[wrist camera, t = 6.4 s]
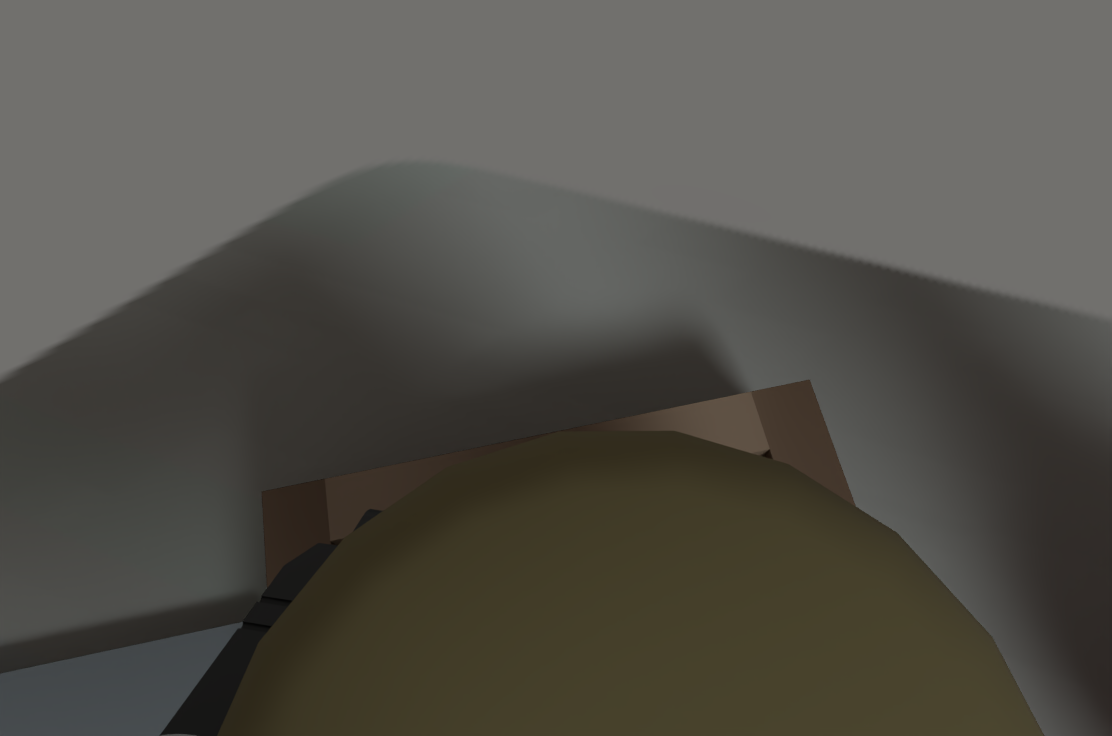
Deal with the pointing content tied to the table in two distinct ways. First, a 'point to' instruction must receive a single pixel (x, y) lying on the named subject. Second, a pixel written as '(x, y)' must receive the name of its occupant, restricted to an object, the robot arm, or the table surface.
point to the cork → (626, 609)
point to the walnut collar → (736, 421)
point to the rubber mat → (109, 688)
